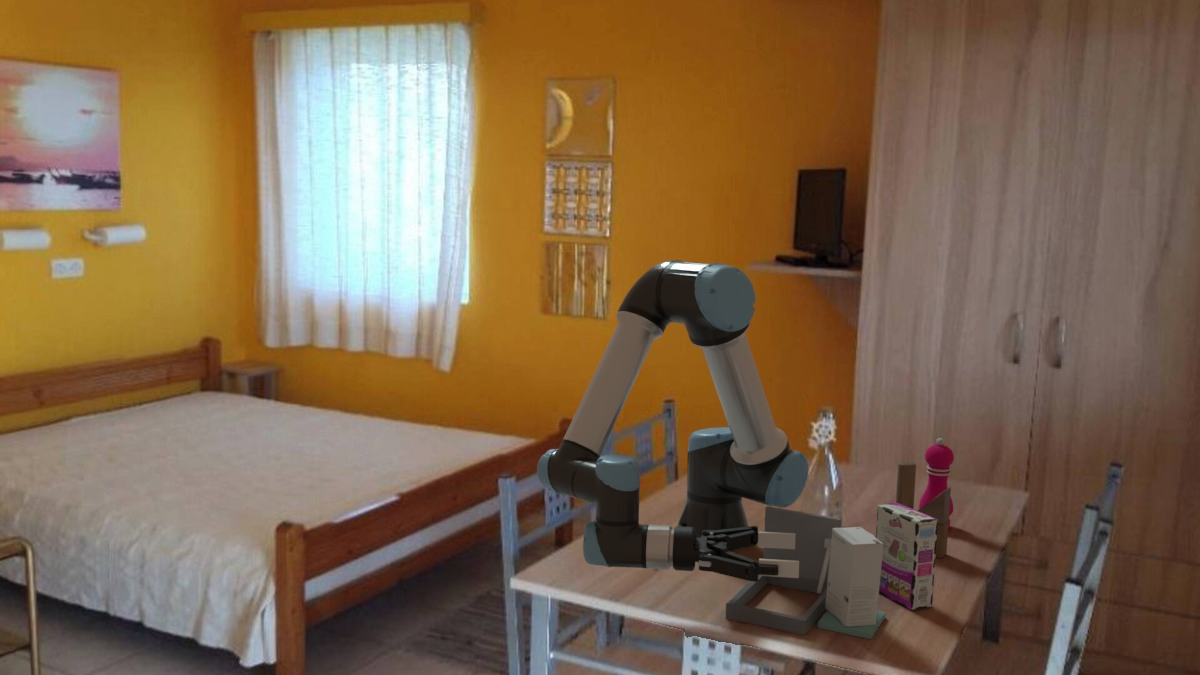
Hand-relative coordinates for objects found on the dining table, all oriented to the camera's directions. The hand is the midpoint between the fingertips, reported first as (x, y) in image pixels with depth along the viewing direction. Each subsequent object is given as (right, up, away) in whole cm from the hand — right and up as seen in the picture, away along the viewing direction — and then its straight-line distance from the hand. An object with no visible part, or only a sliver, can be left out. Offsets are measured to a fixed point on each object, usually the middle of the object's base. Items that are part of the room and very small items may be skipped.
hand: (797, 554), depth 180 cm
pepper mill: (+40, -5, +53) cm, 66 cm away
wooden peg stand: (+32, -7, +37) cm, 49 cm away
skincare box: (+9, -11, 0) cm, 14 cm away
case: (-1, -11, +7) cm, 13 cm away
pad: (+9, -12, 0) cm, 15 cm away
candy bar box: (+21, -11, +12) cm, 26 cm away
